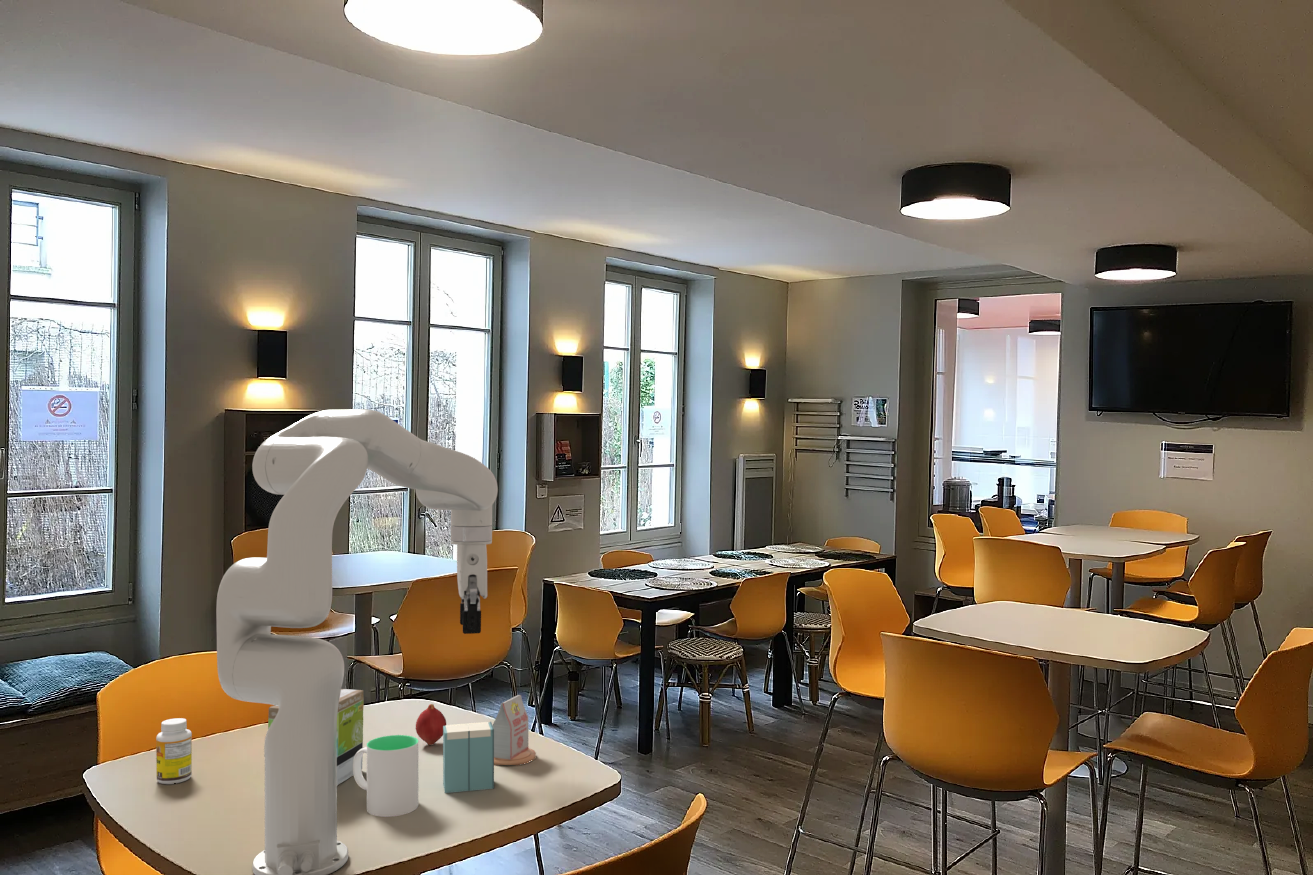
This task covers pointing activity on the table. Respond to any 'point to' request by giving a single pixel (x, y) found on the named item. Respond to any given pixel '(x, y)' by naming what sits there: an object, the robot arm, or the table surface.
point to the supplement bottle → (174, 752)
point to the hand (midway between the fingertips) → (470, 628)
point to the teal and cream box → (468, 757)
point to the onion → (430, 725)
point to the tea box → (344, 730)
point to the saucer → (517, 758)
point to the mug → (389, 775)
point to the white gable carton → (511, 729)
